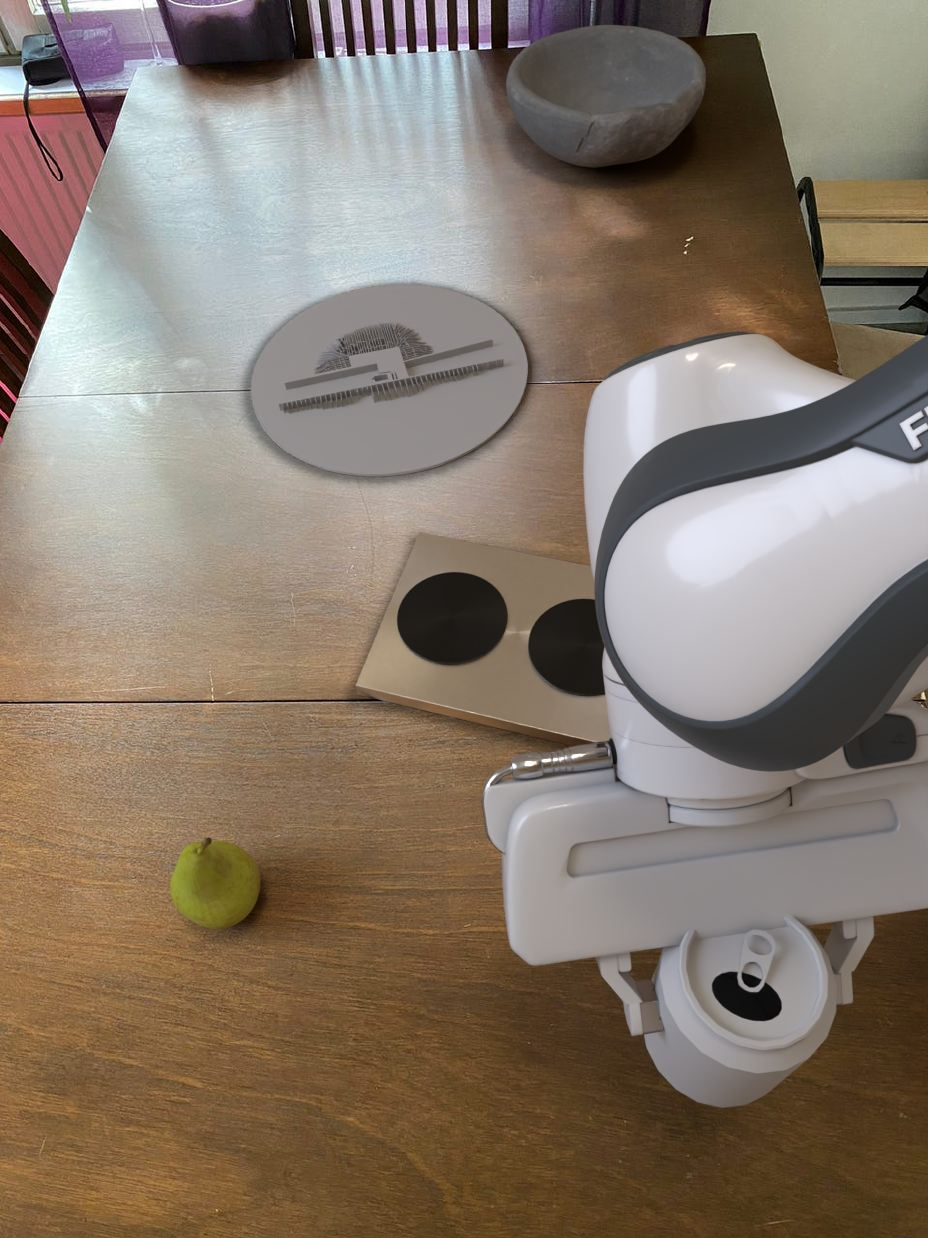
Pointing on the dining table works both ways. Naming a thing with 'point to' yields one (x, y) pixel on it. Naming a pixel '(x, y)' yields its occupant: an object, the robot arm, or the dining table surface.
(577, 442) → the dining table surface
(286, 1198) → the dining table surface
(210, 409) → the dining table surface
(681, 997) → the can
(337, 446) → the plate
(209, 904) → the fruit
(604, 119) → the bowl
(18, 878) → the dining table surface
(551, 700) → the hob
